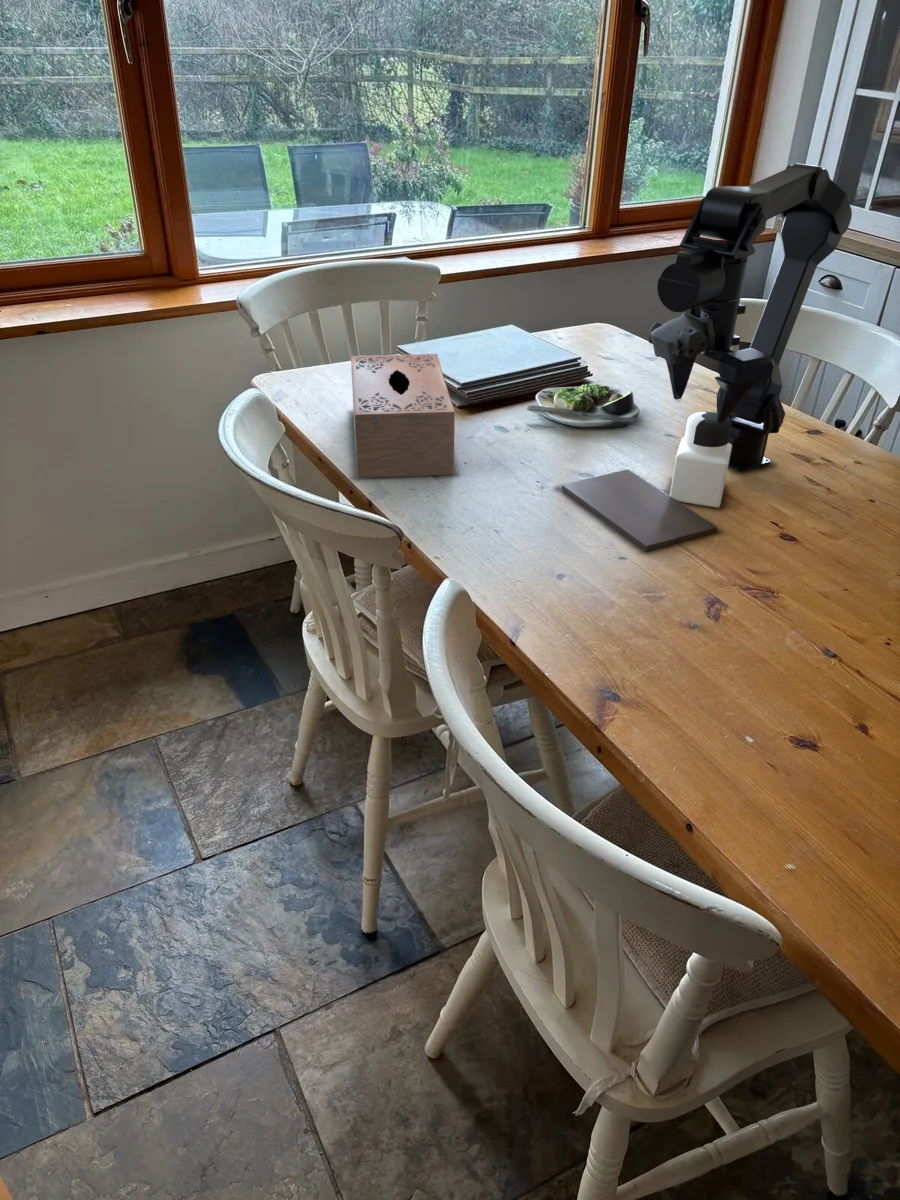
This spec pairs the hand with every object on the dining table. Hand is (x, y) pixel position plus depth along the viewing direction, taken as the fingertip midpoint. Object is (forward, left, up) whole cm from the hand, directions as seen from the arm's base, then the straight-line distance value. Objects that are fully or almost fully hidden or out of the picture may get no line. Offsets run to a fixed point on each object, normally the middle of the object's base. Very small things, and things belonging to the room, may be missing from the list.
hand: (698, 410), depth 125 cm
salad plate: (-6, -32, -13) cm, 35 cm away
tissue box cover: (+29, -35, -13) cm, 48 cm away
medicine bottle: (-2, +1, -13) cm, 13 cm away
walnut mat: (+9, +1, -13) cm, 16 cm away
